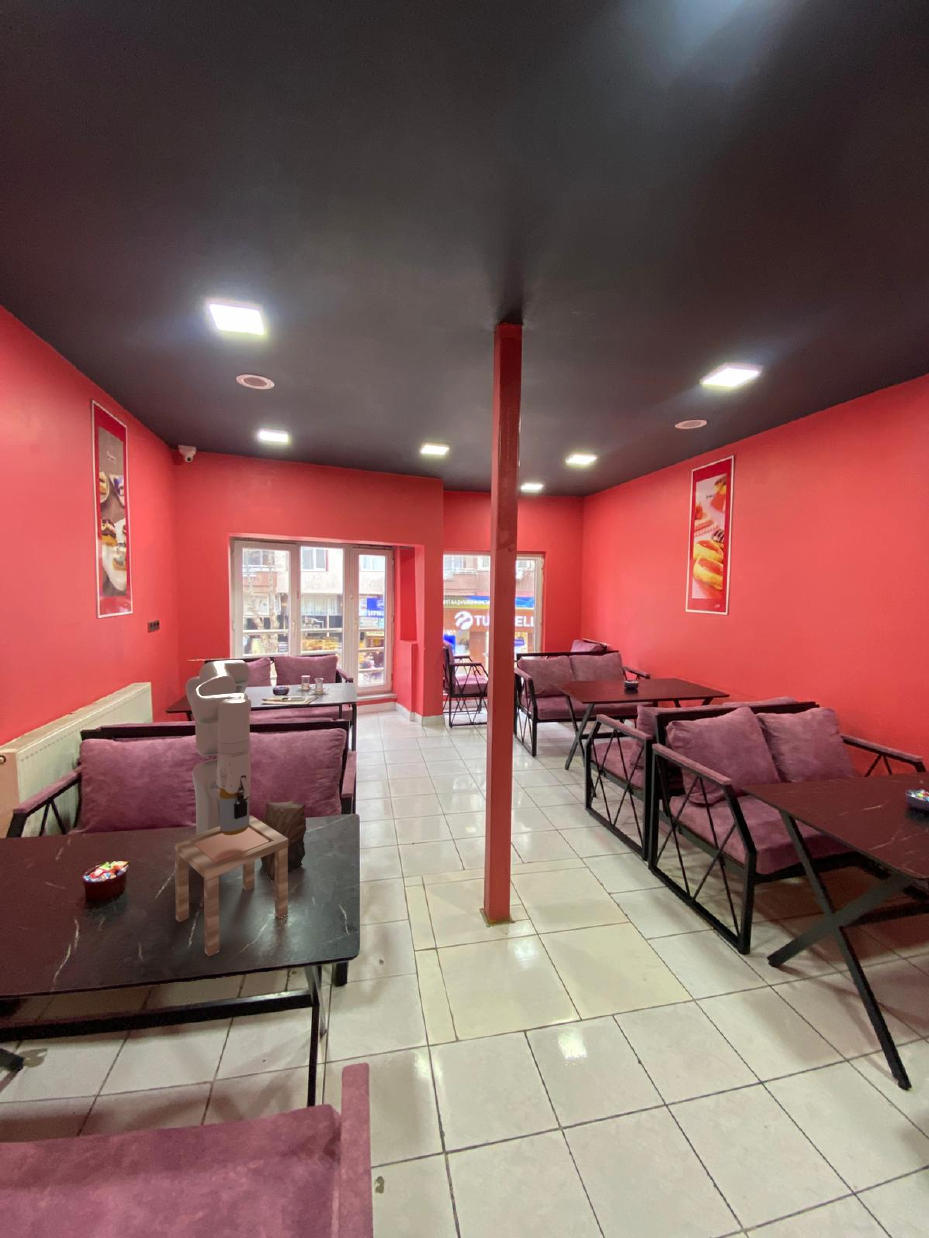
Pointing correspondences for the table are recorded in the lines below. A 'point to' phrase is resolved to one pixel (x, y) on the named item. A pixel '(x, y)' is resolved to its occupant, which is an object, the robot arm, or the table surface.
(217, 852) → the trapdoor
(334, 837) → the table surface
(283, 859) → the trapdoor frame
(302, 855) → the tree stump
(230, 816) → the bottle
